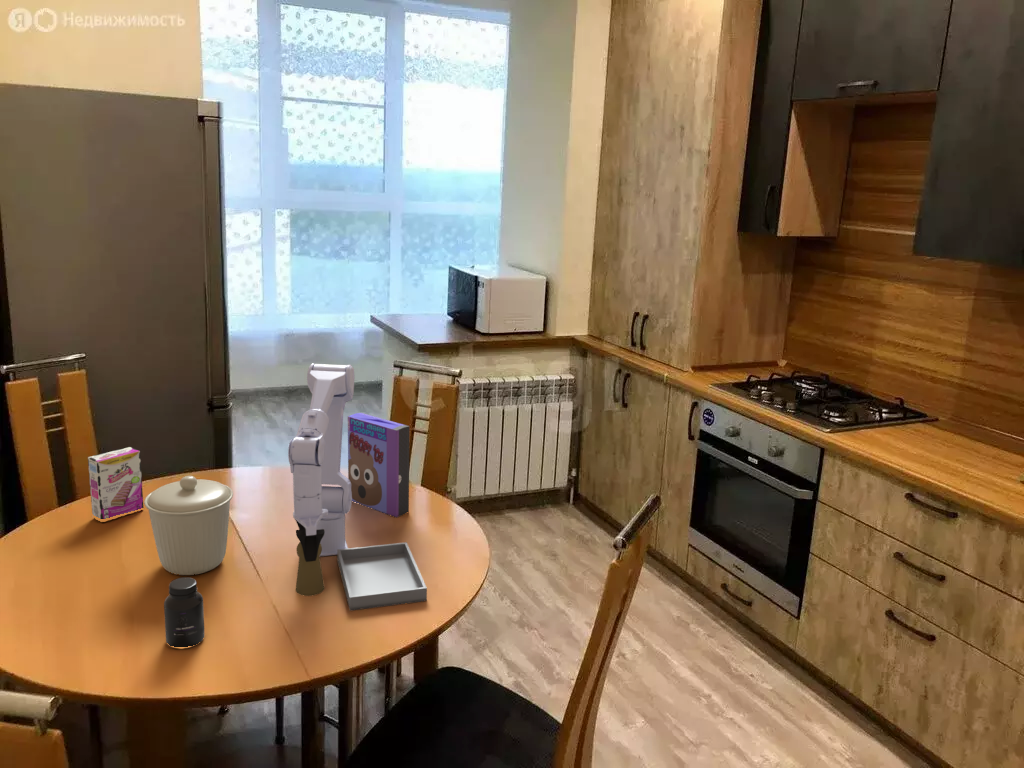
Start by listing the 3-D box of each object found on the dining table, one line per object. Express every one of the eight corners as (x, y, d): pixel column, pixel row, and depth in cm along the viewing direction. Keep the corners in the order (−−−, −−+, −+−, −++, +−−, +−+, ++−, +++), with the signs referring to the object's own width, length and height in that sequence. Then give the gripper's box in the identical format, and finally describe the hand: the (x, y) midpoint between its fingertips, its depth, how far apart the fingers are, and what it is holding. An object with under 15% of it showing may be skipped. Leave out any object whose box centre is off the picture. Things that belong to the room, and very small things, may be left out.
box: (349, 610, 166) (349, 597, 165) (337, 561, 186) (337, 549, 185) (426, 600, 171) (426, 588, 170) (406, 553, 191) (406, 542, 190)
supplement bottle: (181, 654, 149) (177, 596, 146) (158, 642, 152) (153, 585, 149) (213, 637, 154) (209, 581, 151) (189, 626, 158) (186, 570, 155)
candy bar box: (102, 524, 199) (96, 461, 195) (92, 519, 202) (85, 456, 198) (145, 510, 208) (140, 450, 204) (134, 505, 211) (129, 445, 207)
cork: (299, 598, 170) (297, 550, 167) (292, 585, 175) (291, 538, 172) (327, 592, 172) (327, 545, 170) (320, 579, 178) (319, 533, 175)
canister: (135, 563, 181) (128, 475, 176) (212, 539, 194) (207, 456, 189) (172, 593, 169) (165, 499, 164) (251, 565, 182) (247, 478, 177)
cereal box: (348, 500, 220) (347, 415, 213) (361, 495, 223) (360, 411, 217) (396, 517, 210) (396, 429, 204) (408, 512, 214) (409, 425, 208)
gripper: (331, 504, 163) (332, 566, 166) (323, 478, 176) (325, 535, 179) (294, 507, 160) (296, 570, 164) (290, 480, 174) (292, 539, 177)
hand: (309, 552), depth 171 cm, fingers open, 7 cm apart
